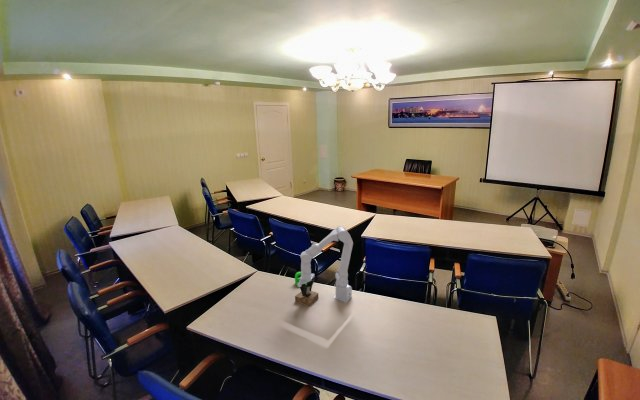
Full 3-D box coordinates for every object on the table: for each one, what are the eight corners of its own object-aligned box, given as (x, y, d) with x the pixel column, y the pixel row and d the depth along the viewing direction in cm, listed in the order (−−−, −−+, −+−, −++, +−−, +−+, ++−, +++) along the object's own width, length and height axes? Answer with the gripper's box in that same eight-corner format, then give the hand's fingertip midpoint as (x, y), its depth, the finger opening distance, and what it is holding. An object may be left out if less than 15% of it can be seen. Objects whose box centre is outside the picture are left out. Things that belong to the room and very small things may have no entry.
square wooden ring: (318, 298, 173) (318, 293, 172) (308, 306, 165) (308, 300, 164) (305, 293, 178) (304, 288, 177) (295, 301, 170) (295, 296, 169)
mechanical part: (297, 287, 186) (297, 276, 184) (295, 283, 191) (294, 272, 190) (315, 284, 190) (314, 272, 189) (311, 280, 196) (311, 269, 194)
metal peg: (310, 299, 172) (310, 286, 170) (307, 301, 169) (307, 288, 167) (306, 297, 173) (306, 284, 171) (303, 300, 171) (303, 286, 169)
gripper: (307, 265, 176) (308, 285, 179) (293, 275, 164) (293, 296, 167) (317, 268, 172) (317, 288, 175) (302, 278, 160) (303, 299, 163)
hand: (306, 292), depth 170 cm, fingers open, 5 cm apart
